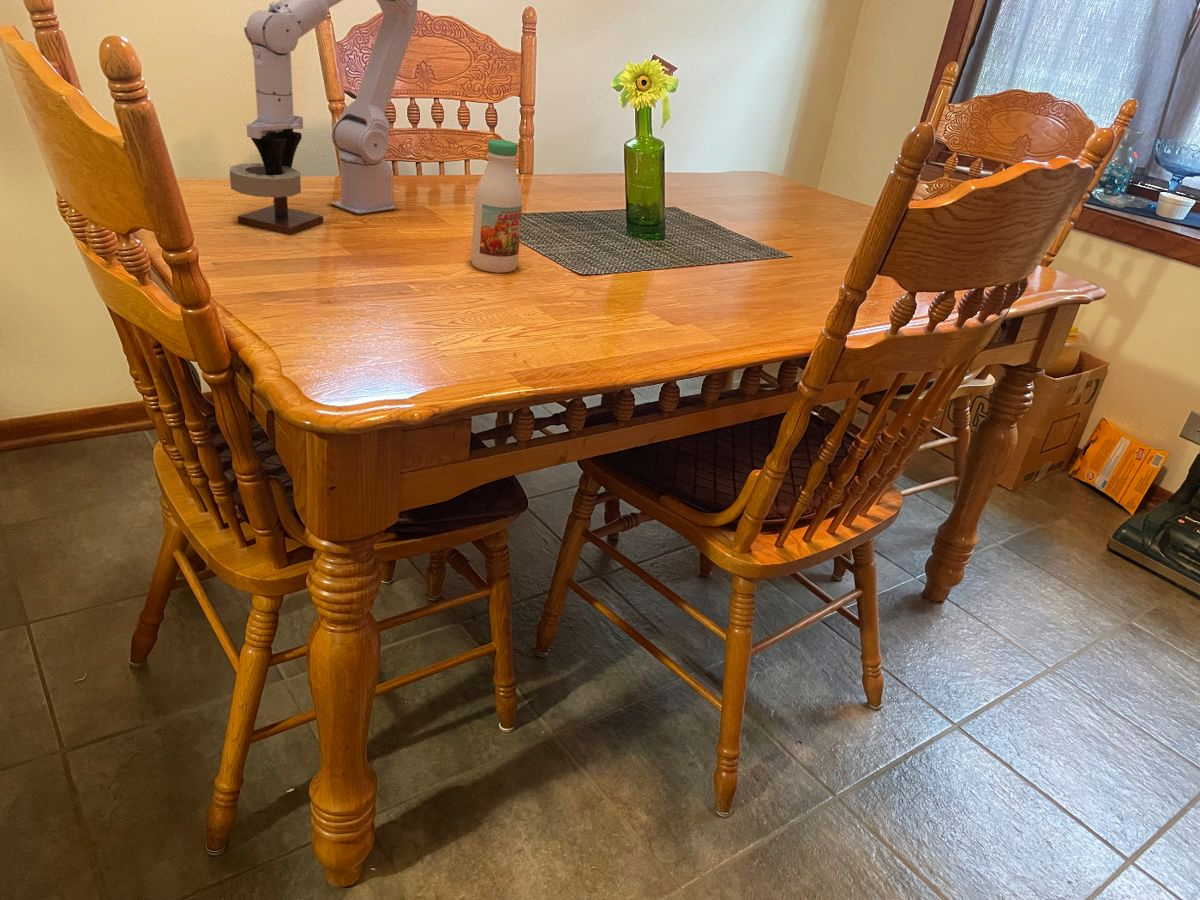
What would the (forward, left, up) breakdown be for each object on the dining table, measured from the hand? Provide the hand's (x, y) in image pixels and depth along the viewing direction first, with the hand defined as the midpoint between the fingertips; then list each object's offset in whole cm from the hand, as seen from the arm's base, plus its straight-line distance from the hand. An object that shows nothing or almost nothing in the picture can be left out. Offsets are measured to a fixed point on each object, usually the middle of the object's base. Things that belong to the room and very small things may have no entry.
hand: (278, 176), depth 143 cm
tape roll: (+4, +2, -1) cm, 4 cm away
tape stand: (+2, +4, -7) cm, 8 cm away
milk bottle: (-13, +40, -7) cm, 42 cm away
